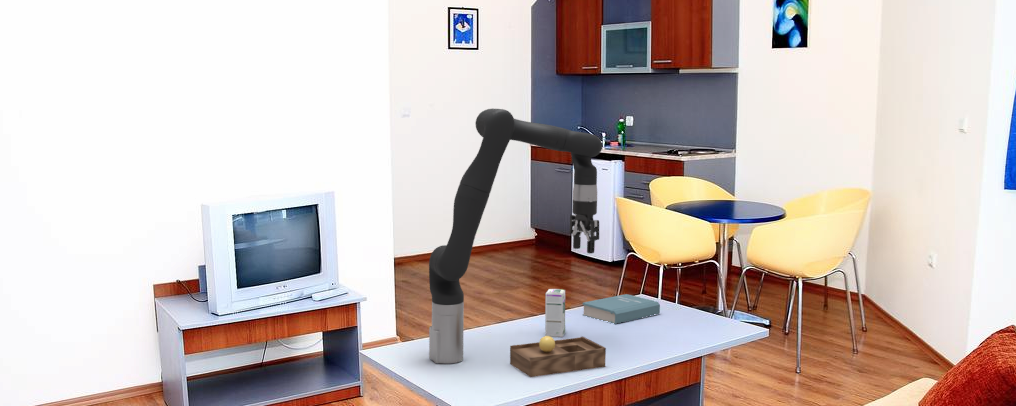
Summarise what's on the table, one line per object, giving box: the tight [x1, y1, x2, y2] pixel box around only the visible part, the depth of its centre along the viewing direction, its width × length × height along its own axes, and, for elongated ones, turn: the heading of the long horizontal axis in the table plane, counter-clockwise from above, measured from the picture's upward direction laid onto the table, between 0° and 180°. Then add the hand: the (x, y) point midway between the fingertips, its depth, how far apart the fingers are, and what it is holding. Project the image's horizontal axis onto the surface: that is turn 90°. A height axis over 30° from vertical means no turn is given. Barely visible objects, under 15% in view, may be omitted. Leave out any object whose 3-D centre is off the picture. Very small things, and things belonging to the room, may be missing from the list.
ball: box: [539, 335, 555, 352], centre depth 254 cm, size 5×5×5 cm
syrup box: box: [544, 288, 566, 338], centre depth 288 cm, size 6×6×14 cm
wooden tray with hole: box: [509, 335, 607, 378], centre depth 256 cm, size 24×13×6 cm, turn 115°
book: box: [582, 293, 661, 325], centre depth 316 cm, size 23×16×5 cm
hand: (583, 250), depth 276 cm, fingers open, 8 cm apart
